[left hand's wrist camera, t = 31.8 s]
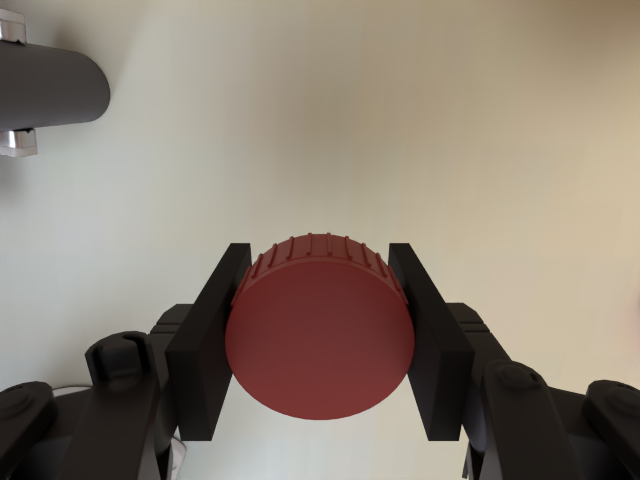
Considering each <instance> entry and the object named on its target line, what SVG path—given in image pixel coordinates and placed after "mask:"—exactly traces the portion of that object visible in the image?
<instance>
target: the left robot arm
mask: <svg viewBox="0 0 640 480" xmlns="http://www.w3.org/2000/svg"><path fill="white" fill-rule="evenodd" d="M388 265H390V266H391V268H392V270H393V273H394V275H395V277H396V279H398V280H399V282H400V285H401V287H402V289H403V292H404V294H405V296H406V299H407V301H408V303H409V306H408V307H407V308H408V310H409V313H410V315H411V317H412V321H413V326H414V330H415V347H414V355H413V359H412V363H411V365H410V367H409V370H408V372H407V375H408V378H409V381H410V384H411V387H412V390H413V394H414V397H415V400H416V403H417V406H418V409H419V413H420V416H421V419H422V422H423V425H424V428H425V431H426V435H427V438H428V441H459V437H460V431H461V426H462V425H463V427H464V429H465V432H466V434H467V436H468V438H469V443H468V448H467V453H466V458H465V463H464V468H463V474H462V478H466V479H467V476H469V480H640V390H638V389H636V388H634V387H632V386H630V385H627V384H624V383H620V382H617V381H610V380H598V381H594V382H592V383H591V384H590V385H589V386H588V389H587V392H586V395H583V394H578V393H574V392H569V391H565V390H560V389H556V388H553V387H549V386H547V384H546V382H545V381H544V379H543V378H542V376H541V375H539V374H538V373H537V372H536V371H534V370H533V369H532V368H530V367H528V366H526V365H524V364H522V363H519V362H515V361H512V360H511V359H510V357H509V356H508V355H507V353H506V352H505V350H504V349H503V348H502V346H501V345H500V344H499V342H498V341H497V339H496V338H495V337H494V335H493V334H492V333H490V330H489V329H488V327H487V326H486V324H484V322H483V320H482V319H481V318H480V316H479V315H478V314H477V312H476V311H474V310H473V309H472V308H470V307H469V306H467V305H466V304H464V303H445V301H444V300H443V298H442V296H441V295H440V293H439V291H438V290H437V288H436V287H435V285H434V283H433V282H432V280H431V278H430V277H429V275H428V273H427V272H426V270H425V269H424V267H423V265H422V264H421V262H420V260H419V259H418V257H417V256H416V254H415V252H414V251H413V249H412V247H411V246H410V244H409V243H390V244H389V258H388ZM249 266H251V267H252V261H251V247H250V243H231V244H230V245H229V247H228V249H227V250H226V252H225V254H224V255H223V257H222V258H221V260H220V262H219V263H218V265H217V267H216V268H215V270H214V271H213V273H212V275H211V276H210V278H209V280H208V281H207V283H206V284H205V286H204V288H203V289H202V291H201V293H200V294H199V296H198V298H197V299H196V301H195V302H194V304H176V305H175V306H173V307H172V308H170V309H169V310H167V311H166V312H164V313H163V315H162V316H161V317H160V319H159V320H158V322H157V323H156V325H155V326H154V327H153V328H152V330H151V331H150V334H148V335H147V334H146V333H143V332H138V331H125V332H121V333H116V334H112V335H110V336H108V337H105V338H103V339H101V340H99V341H98V342H96V343H95V344H93V345H92V346H91V347H90V348H89V349H88V350H87V352H86V353H85V358H86V361H87V365H88V368H89V372H90V375H91V379H92V382H93V386H92V388H89V389H86V390H82V391H78V392H73V393H69V394H64V395H60V396H54V393H53V390H52V387H51V386H50V385H48V384H47V383H45V382H38V381H34V382H27V383H22V384H19V385H16V386H12V387H10V388H7V389H5V390H4V391H2V392H0V480H171V477H172V467H173V456H174V455H173V448H172V443H171V440H172V437H173V435H174V433H175V431H176V428H177V426H178V427H179V433H180V438H181V441H211V440H212V437H213V434H214V431H215V428H216V424H217V421H218V418H219V415H220V412H221V409H222V405H223V402H224V399H225V396H226V393H227V390H228V387H229V383H230V380H231V377H232V374H233V372H232V370H231V368H230V366H229V363H228V360H227V357H226V350H225V329H226V324H227V321H228V318H229V315H230V312H231V310H232V308H231V307H230V305H231V303H232V300H233V298H234V296H235V293H236V291H237V289H238V286H239V284H240V282H241V280H243V278H244V276H245V274H246V271H247V269H248V267H249Z"/></svg>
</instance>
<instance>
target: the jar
mask: <svg viewBox="0 0 640 480" xmlns="http://www.w3.org/2000/svg"><path fill="white" fill-rule="evenodd" d="M109 99H110V91H109V85H108V82H107V79H106V77H105V75H104V74H103V72H102V71H101V69H100V68H99V67H98V66H97V65H96V63H94V62H93V61H92V60H91V59H89V58H88V57H86V56H84V55H82V54H80V53H77V52H72V51H67V50H61V49H56V48H50V47H45V46H39V45H34V44H28V43H27V44H23V43H18V42H12V41H7V40H1V39H0V131H9V130H18V129H27V128H36V127H46V126H55V125H64V124H74V123H83V122H90V121H93V120H96V119H98V118H99V117H100V116H102V115H103V114H104V112H105V111H106V109H107V107H108V104H109Z"/></svg>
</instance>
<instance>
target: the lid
mask: <svg viewBox="0 0 640 480" xmlns="http://www.w3.org/2000/svg"><path fill="white" fill-rule="evenodd" d="M408 306H409V303H408V301H407V299H406V296H405V294H404V292H403V289H402V287H401V285H400V282H399V280H398V279H396V277H395V275H394V273H393V270H392V268H391V266H390V265H388V266H387V265H386V263H385V262H384V261H383V260H382V259H381V256H380V254H379V253H378V252H377V253H375V252H373V251H372V250H370V249H369V248H367V247H366V244H364V243H362V244H360V243H358V242H356V241H354V240H351V239H349V237H348V236H345V237H341V236H336V235H331V234H330V233H327V234H312V233H308V235H304V236H299V237H295V238H294V237H293V236H292V237H290V239H289V240H286V241H284V242H281V243H279V244H278V245H277V244H276V243H275V244H273V247H272V248H271V249H269V250H268V251H267V252H265V253H264V254H262V253H261V254H260V255H259V257H258V259H257V261H256V262H255V263H254V264H253V266H252V267H251V266H249V267H248V269H247V271H246V274H245V276H244V278H243V280H241V282H240V284H239V286H238V289H237V291H236V293H235V296H234V298H233V300H232V303H231V305H230V307H231V308H232V310H231V312H230V315H229V318H228V321H227V324H226V329H225V350H226V357H227V360H228V363H229V366H230V368H231V370H232V372H233V375H234V376H235V378H236V379H237V381H238V382H239V384H240V385H241V386H242V387H243V388H244V389H245V390H246V392H248V393H249V394H250V395H251V396H252V397H253V398H254V399H256V400H257V401H259V402H260V403H261V404H263V405H265V406H267V407H268V408H270V409H272V410H274V411H277V412H279V413H282V414H285V415H288V416H292V417H296V418H301V419H309V420H331V419H339V418H344V417H348V416H352V415H355V414H358V413H361V412H363V411H365V410H367V409H370V408H371V407H373V406H375V405H377V404H378V403H380V402H381V401H383V400H384V399H385V398H386V397H388V396H389V395H390V394H391V393H392V392H393V391H394V390H395V389H396V388H397V387H398V385H399V384H400V383H401V382H402V380H403V379H404V377H405V375H406V374H407V372H408V370H409V367H410V365H411V363H412V359H413V355H414V347H415V330H414V326H413V321H412V317H411V315H410V313H409V310H408V308H407V307H408Z"/></svg>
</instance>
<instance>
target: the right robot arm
mask: <svg viewBox="0 0 640 480" xmlns="http://www.w3.org/2000/svg"><path fill="white" fill-rule="evenodd" d="M0 39H1V40H7V41H12V42H18V43H23V44H27V41H26V29H25V21H24V14H20V13H17V12H13V11H9V10H5V9H1V8H0ZM37 153H38V151H37V142H36V134H35V129H34V128H27V129H18V130H9V131H0V155H1V154H2V155H8V156H14V157H23V156H29V155H34V154H37ZM86 389H89V387H67V388H61V389H57V390H53V393H54V396H60V395H64V394H69V393H73V392H78V391H82V390H86ZM171 443H172V448H173V455H174V456H173V467H172V477H171V480H176V478H177V476H178V473H179V470H180V467H181V465H182V462H183V459H184V456H185V453H186V449H185V447H184V446H183V445H182V444H181V443H180V442H179V441H177V440H176V439H174V438H172V440H171Z"/></svg>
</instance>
